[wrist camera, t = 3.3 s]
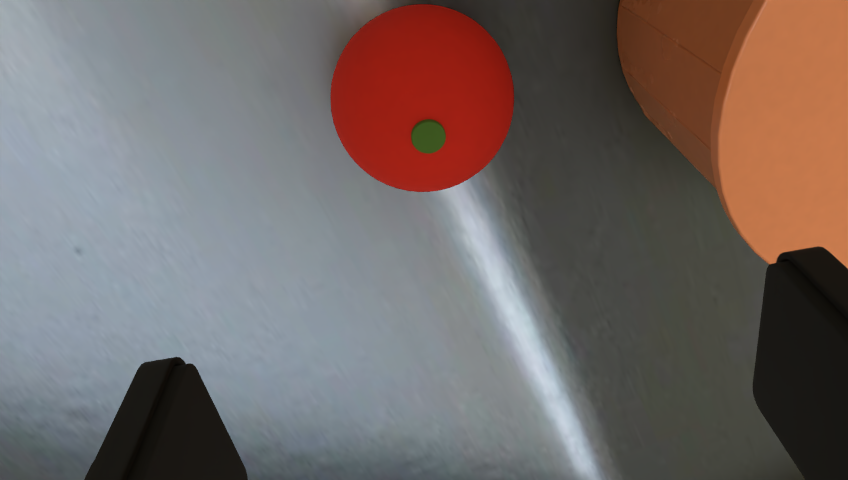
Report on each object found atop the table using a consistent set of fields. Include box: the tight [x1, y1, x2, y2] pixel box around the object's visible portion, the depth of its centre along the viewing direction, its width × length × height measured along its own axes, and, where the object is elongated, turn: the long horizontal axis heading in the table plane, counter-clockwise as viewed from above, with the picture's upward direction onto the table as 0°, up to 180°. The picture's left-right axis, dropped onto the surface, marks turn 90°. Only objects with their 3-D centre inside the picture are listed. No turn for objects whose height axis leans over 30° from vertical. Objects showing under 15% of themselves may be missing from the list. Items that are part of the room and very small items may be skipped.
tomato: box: [331, 4, 514, 192], centre depth 21 cm, size 6×6×6 cm
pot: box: [617, 0, 753, 188], centre depth 20 cm, size 11×11×9 cm
